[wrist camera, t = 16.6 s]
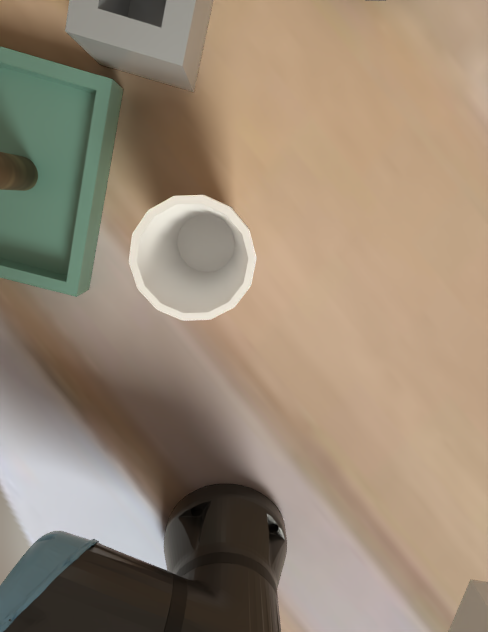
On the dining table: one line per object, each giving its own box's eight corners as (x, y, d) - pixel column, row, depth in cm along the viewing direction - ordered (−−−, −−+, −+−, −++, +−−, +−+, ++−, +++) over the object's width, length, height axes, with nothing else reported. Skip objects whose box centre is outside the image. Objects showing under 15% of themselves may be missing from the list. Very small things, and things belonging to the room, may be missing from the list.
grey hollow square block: (193, 92, 40) (182, 66, 32) (99, 64, 39) (65, 31, 31) (216, -16, 37) (210, -72, 30) (117, -47, 37) (84, -112, 29)
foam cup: (142, 237, 43) (102, 251, 31) (209, 176, 42) (196, 165, 29) (203, 304, 45) (189, 344, 33) (269, 249, 44) (281, 268, 31)
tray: (89, 289, 45) (76, 296, 41) (-64, 250, 44) (-90, 255, 40) (123, 89, 40) (112, 79, 36) (-49, 39, 38) (-77, 24, 35)
